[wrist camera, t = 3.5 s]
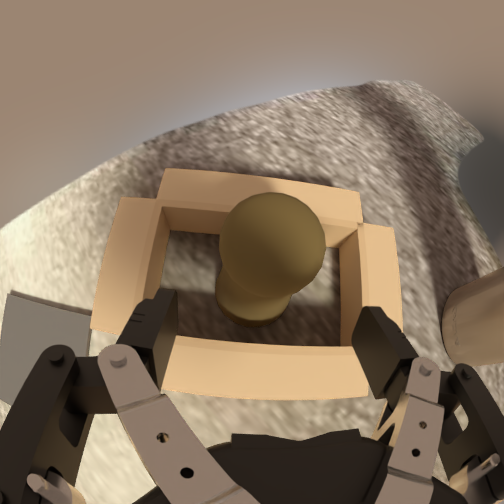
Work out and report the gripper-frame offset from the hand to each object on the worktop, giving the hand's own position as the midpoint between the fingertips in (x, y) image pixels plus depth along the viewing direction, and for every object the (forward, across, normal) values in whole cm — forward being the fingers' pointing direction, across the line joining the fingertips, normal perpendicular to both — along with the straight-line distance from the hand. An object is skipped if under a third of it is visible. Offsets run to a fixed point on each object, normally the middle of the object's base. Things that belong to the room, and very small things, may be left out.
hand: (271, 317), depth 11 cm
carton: (+10, 0, +4) cm, 11 cm away
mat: (+3, +18, +11) cm, 22 cm away
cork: (+10, 0, +5) cm, 11 cm away
